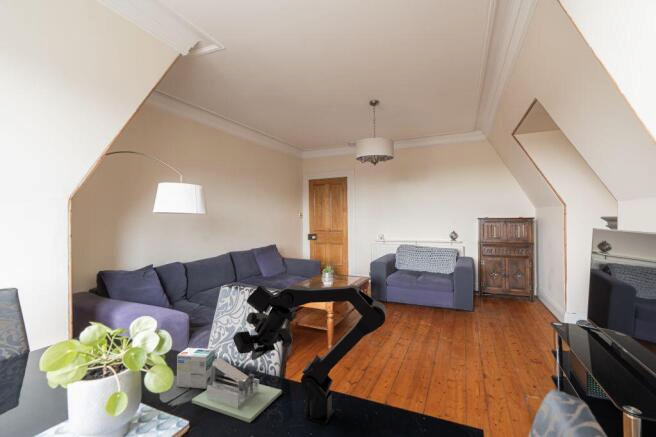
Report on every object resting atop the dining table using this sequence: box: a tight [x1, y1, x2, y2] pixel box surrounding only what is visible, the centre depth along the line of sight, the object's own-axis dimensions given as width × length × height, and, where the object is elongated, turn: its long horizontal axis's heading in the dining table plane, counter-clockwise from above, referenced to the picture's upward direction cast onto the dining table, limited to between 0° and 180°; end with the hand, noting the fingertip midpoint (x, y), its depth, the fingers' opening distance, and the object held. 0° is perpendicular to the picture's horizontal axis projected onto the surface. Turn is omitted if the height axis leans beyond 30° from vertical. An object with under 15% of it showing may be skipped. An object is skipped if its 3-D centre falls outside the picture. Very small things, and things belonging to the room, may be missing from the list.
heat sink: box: [206, 366, 260, 409], centre depth 94 cm, size 13×10×8 cm
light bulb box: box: [176, 347, 216, 390], centre depth 102 cm, size 11×7×11 cm, turn 84°
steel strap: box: [212, 357, 252, 387], centre depth 94 cm, size 14×3×2 cm, turn 66°
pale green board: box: [191, 383, 283, 423], centre depth 94 cm, size 22×16×1 cm
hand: (252, 358), depth 94 cm, fingers closed
